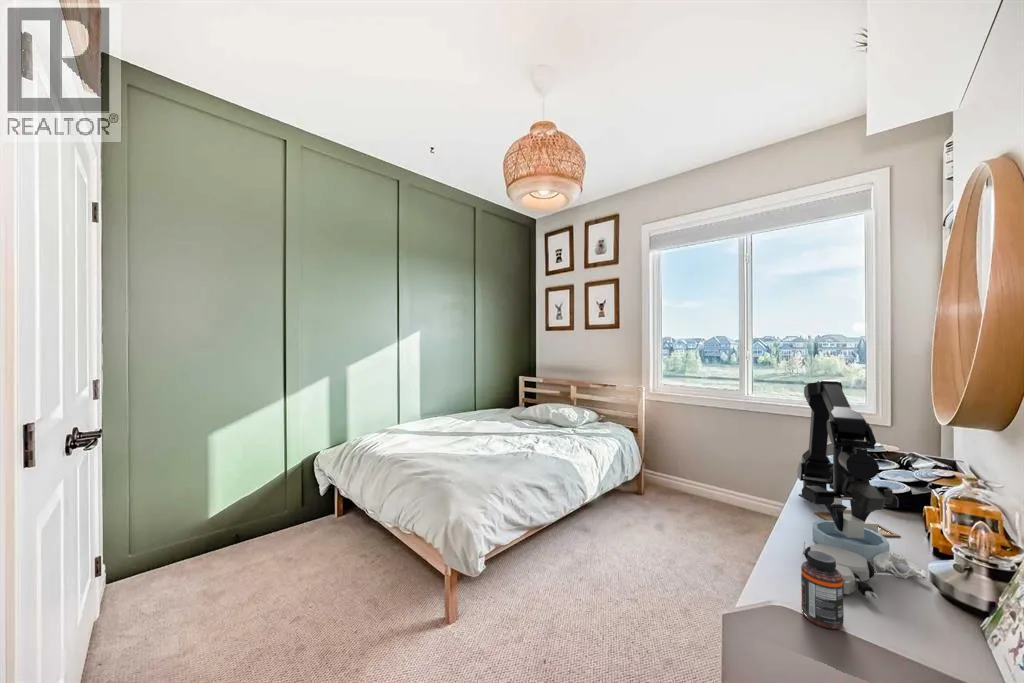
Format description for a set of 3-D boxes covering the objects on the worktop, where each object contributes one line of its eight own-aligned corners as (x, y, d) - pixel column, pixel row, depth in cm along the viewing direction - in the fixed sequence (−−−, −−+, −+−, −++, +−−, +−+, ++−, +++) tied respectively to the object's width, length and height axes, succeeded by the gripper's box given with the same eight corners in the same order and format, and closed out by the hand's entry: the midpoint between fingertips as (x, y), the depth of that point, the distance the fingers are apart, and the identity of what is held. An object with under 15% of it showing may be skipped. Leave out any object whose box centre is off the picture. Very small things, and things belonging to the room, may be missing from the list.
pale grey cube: (854, 529, 106) (854, 518, 106) (868, 529, 105) (868, 519, 106) (863, 534, 103) (863, 523, 103) (877, 534, 102) (877, 524, 103)
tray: (814, 514, 116) (814, 511, 116) (857, 516, 115) (857, 513, 115) (851, 536, 102) (851, 533, 102) (900, 539, 101) (900, 535, 101)
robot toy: (881, 616, 73) (874, 574, 85) (881, 592, 73) (874, 554, 84) (800, 590, 81) (803, 555, 92) (800, 568, 81) (803, 536, 92)
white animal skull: (877, 558, 85) (870, 543, 90) (877, 577, 85) (870, 561, 90) (929, 569, 80) (919, 553, 86) (929, 589, 80) (919, 571, 86)
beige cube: (834, 529, 99) (834, 513, 99) (849, 529, 98) (849, 513, 99) (848, 537, 94) (848, 520, 94) (864, 538, 94) (863, 521, 94)
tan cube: (834, 515, 115) (834, 505, 115) (845, 515, 114) (845, 506, 114) (842, 519, 112) (842, 509, 112) (854, 520, 111) (854, 510, 111)
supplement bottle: (802, 604, 75) (802, 544, 75) (843, 617, 71) (842, 554, 71) (800, 620, 70) (799, 556, 70) (844, 636, 66) (843, 568, 67)
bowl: (800, 533, 104) (800, 519, 104) (856, 535, 103) (856, 521, 103) (840, 561, 90) (839, 545, 90) (905, 564, 89) (905, 548, 89)
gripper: (831, 476, 90) (832, 545, 89) (920, 479, 88) (921, 549, 88) (800, 462, 101) (800, 524, 100) (877, 464, 99) (878, 527, 99)
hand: (848, 531), depth 97 cm, fingers closed on beige cube, 4 cm apart
